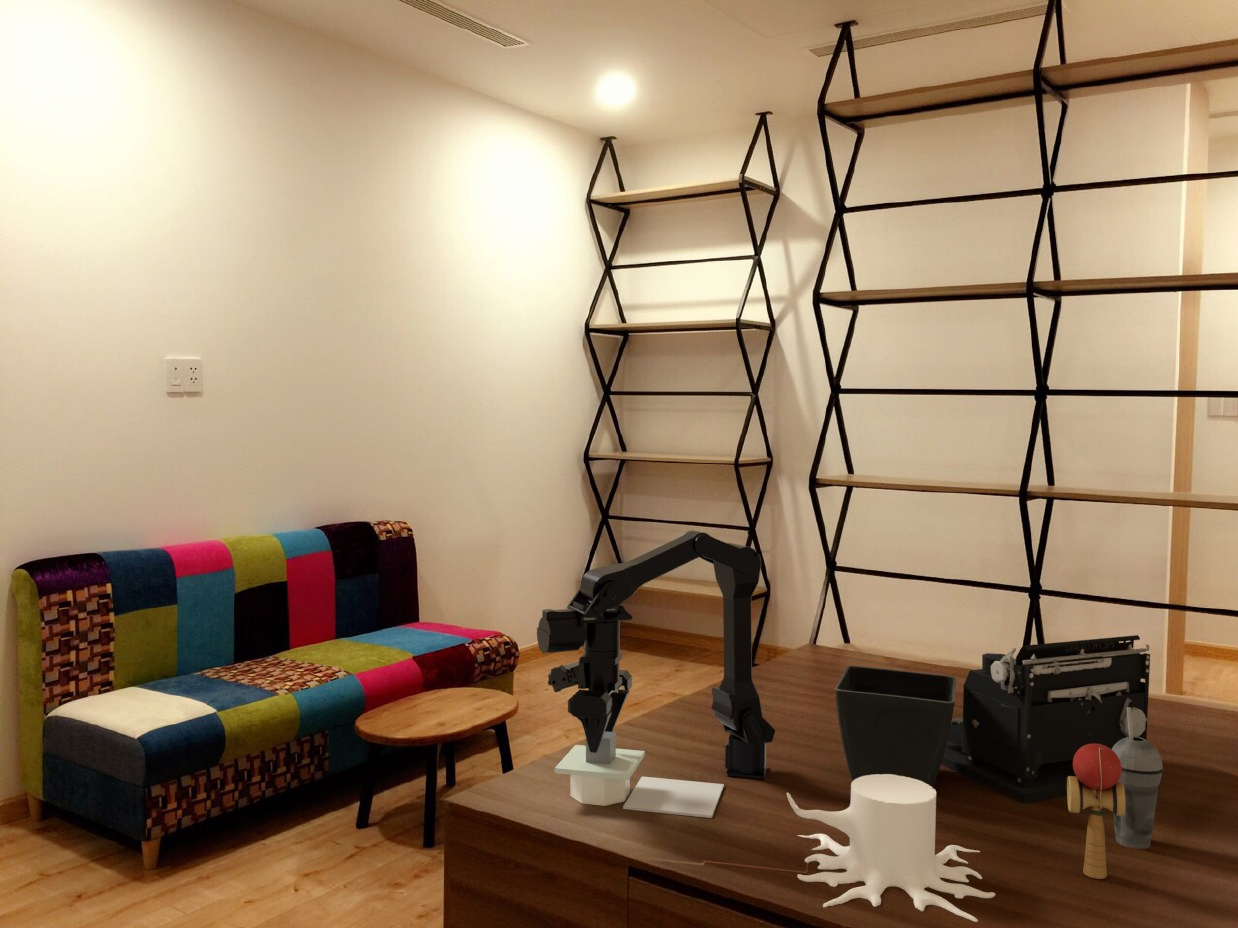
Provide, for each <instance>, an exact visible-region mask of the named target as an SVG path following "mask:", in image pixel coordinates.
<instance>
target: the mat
mask: <svg viewBox="0 0 1238 928" xmlns="http://www.w3.org/2000/svg"><path fill="white" fill-rule="evenodd" d="M724 787H725V785H724V783H715V782H714V783H713V782H706V781H705V782H704V781H694V780H693V781H692V780H682V779H673V778H670V779H669V778H663V777H662V778H661V777H652V776H651V777H650V776H641V777H640V779H639V780H638V782H637V783H636V786H635V787H634V788H633V790H632V791H631V792H630V794H629V795H628V797H627V798H626V800H625V803H624V804H623V806H622V810H630V811H640V812H648V813H649V812H650V813H657V814H658V813H661V814H668V815H679V816H687V817H690V816H691V817H695V818H696V817H698V818H708V819H712V818H713V816H714V813H715V811H716V808H717V805H718V803H719V801H720V798H721V796H722V792H723V789H724Z"/></svg>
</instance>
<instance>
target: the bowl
mask: <svg viewBox="0 0 1238 928" xmlns="http://www.w3.org/2000/svg"><path fill="white" fill-rule="evenodd" d="M569 786H570V789H569V790H570V791H569V793H570V794H569V796H570V797H571V798H573V799H574V800H576V801H577V802H578V803H581V804H584V805H594V806H602V807H605V806H610V805H613V804H619V803H624V802H626V801H627V799H628V798H629V796H630V795H631V778H630V779H629V780H622V779H611V778H601V777H590V776H580V775H570V785H569Z"/></svg>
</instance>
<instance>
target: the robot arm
mask: <svg viewBox="0 0 1238 928" xmlns="http://www.w3.org/2000/svg"><path fill="white" fill-rule="evenodd" d="M698 558H700V559H701V560H704V561H706V562H708V563H710V564H712V565H713V569H714V570H713V571H714V575H715V580H716V582H717V585H718V587H719V590H720V592H721V594H722V599H723V600H722V601H723V603H722V609H723V610H722V611H723V613H722V615H723V622H722V623H723V679H722V680H721V682H720V684H719V687H718V686H712V688H711V693H712V694H711V695H712V705H711V710H712V711H713V712H714V716H715V718H716V719H717V721H718V722H720V723H721V726H722V728H723V730H724V732H726V733H728V734H729V736H728V741H727V742H726V743H725V746H724V752H725V753H724V768H725V769H727V770H726V774H725V775H726V776H729V777H730V776H731V777H741V778H749V779H760V780H761V779H762V780H763V779H765V778H766V774H767V771H768V763H767V744H768V743H772V742H773V740H774V738H775V733H776V730H775V728H774V727H773V726H772V725H771V724H770V723H769V722H768V721H767V719H765V718H764V717H763V710H762V705H761V704H762V703H761V699H760V695H759V693H758V690H757V688H756V686H755V682H754V681H753V659H752V657H753V651H752V649H753V648H752V645H753V643H752V641H753V640H752V639H753V638H752V633H753V632H752V630H753V629H752V626H753V625H752V599H753V598H752V596H753V595H754V593H755V591H756V588H757V587H758V584H759V582H760V575H761V569H762V560H761V559H762V558H761V555H760V553H758V551H756V550H755V549H754V548H752V547H750V546H745V545H743V544H737V543H732V542H725V541H722V540H720V539H717V538H715V537H713V536H711V535H710V534H709V533H706V532H704V531H699V530H693V529H692V530H688V531H687V532H685V533H684V534H683V535H681V536H679V537H677V538H675V539H673V540H671V541H669V542H667V543H664V544H663V545H660V546H658V547H656V548H653V549H652V550H650V551H648V552H646V553H644V554H641V555H639V556H637V557H634V558H632V559H631V560H628V561H624V562H621V563H620V562H619V563H613V564H607V565H604V566H600V567H599V566H598V567H596V568H592V569H589V570H588V571H587V572H585V574H583V576H582V579H581V581H580V587H579V589H578V590H577V592H576V593H575V594H574V596H573V597H572V598H571V600H570V602H569V604H567V606H566V608H563V609H552V608H548V609H547V608H546V609H545V608H544V609H542V611H541V612H542V614H541V615H542V616H541V618H540V619H539V622H538V627H537V628H536V640H537V645H538V648H539V650H540V652H541V653H542V654H551V653H564V652H576V651H579V650H580V649H581V647H584V649H583V654H582V655H581V656H580V657H579V659H578V661H574V662H572V663H568V664H565V665H563V664H560V665H558V666H553V667H552V668H551V669H550V672H549V673H548V675H547V678H548V680H547V684H548V685H549V686H552V688H553V692H554V693H559V692H561V691H562V690H565V689H568V688H571V687H574V686H577V689H578V691H576V692H575V693H574V694H573V695H572V696H571V697H570V698H569V699H567V712H568V713H569V714H571V716H572V717H575V718H577V720H578V721H580V722H581V725H582V728H583V731H584V735H585V740H586V739H587V743H588V746H589V750H590V752H591V753H596V752H597V751H598V748H599V746H600V743H601V740H602V737H603V735H604V732H614V728H615V726H616V723H617V721H618V719H619V718H620V715H621V712H622V710H623V708H624V705H625V703H626V700H627V698H628V696H629V694H630V689H632V687H633V686H632V685H633V675H632V674H631V673H630V672H629V671H628V670H626V669H620V661H621V660H622V659H623V652H622V651H620V644H621V643H620V640H621V639H620V633H621V629H620V628H621V621H622V622H623V621H631V620H633V618H634V617H633V615H631V613H629V612H628V611H627V610H626V609H625V607H624V605H622V604H624V603H625V602H626V601H627V600H629V599H631V598H632V597H633V596H634V594H635V593H636V592H637V591H638V589H640V588H641V587H643V585H645V584H647V583H649V582H652V581H653V580H655V579H657V578H659V577H661V576H663V575H666V574H667V573H669V572H672V571H674V570H675V569H678V568H680V567H682V566H684V565H686V564H687V563H690V562H692V561H695V560H696V559H698ZM589 603H590V604H589ZM622 687H624V689H622Z"/></svg>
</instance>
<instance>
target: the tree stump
mask: <svg viewBox="0 0 1238 928" xmlns="http://www.w3.org/2000/svg"><path fill="white" fill-rule="evenodd" d="M786 796H787V800H788V802H789V804H790V806H791V808H792V810H793V812H794V814H796V815H797V816H798V817H801V818H803V819H808V820H809V819H810V820H811V819H812V820H817V821H819V822H822V823H824V824H825V825H828V826H831V827H834V828H836V830H839V831H841V832H843V833H844V834H846V836H848V839H849V845H847V846H845V845H844V846H843V845H841V844H840V843H838V842H837V841H835V840H833V839H832V838H831V837H830V836H829V835H827V834H825V833H814V834H810V835H802V834H801V835H800V834H799V835H798V834H797V835H796V836H798V837H802V838H806V839H808V838H809V839H810V840H811V839H812V840H814V839H815V840H816V839H817V840H820V845H818V846H817V847H813V848H812V849H811V851H819V850H821V851H823V850H826V849H829V850H831V851H832V852H833V853H834V854H835V855H837V856H832V855H828V854H823V853H815V854H812V855H808V856H807V857H806V858H804V862H805V863H806V864H809V863H811V862H818V863H819V865H818V866H817V869H818V870H838V869H842V870H846V871H844V872H835V871H821V872H817V873H814V874H807V875H805V874H804V875H803V874H799V873H798V874H797V876H796V877H797V878H798V879H799V880H800V881H802V882H807V883H813V882H814V883H816V882H821V883H822V882H823V883H826V884H828V886H830V887H833V888H836V887H838V885H842V884H843V885H845V884H851V883H854V884H855V883H857V882H864V884H865V885H863V886H858V887H853V888H851V889H849V890H847V891H846V892H844V893H842V894H841V895H840V896H838V897H836V898H832V899H830V900H829V901H827V902H824V903H823V904H822V907H823V908H827V907H830V906H831V907H833V906H836V905H842V904H844V903H847V902H849V901H850V900H853V899H859V898H860V899H865V900H868V901H869V902H871V905H872V906H873V907H875V908H876V907H878V906H880V905H881V903H882V898H881V895H882V894H883V892H885V890H886V889H887V888H889V887H897V888H900V889H902V890H903V891H905V893H907V894H908V895H909V897H911V899H913V904H914V908H915V909H917V910H919V911H920V912H924V911H925V909H926V906H931V905H932V906H937V907H940V908H943V909H945V910H947V911H948V912H951V913H953V914H954V915H956V916H959V917H962V918H965V919H967V920H970V921H972V922H975V923H977V922H979V919H977V917H975V916H973V915H971V914H969V913H967V912H965V911H963V910H961V909H959V908H958V907H956V906H955V905H954V904H952V903H951V902H949V901H948V900H947V899H945V898H943V897H941V896H940V895H938V894H935V893H933V892H929V891H927V890H925V888H930V889H932V890H935V891H939V892H941V893H947V894H951V895H954V897H955V898H956V899H964V897H965V896H970V897H971V896H973V897H976V898H977V897H978V898H980V899H981V898H982V899H992V898H994V897H996V893H995V892H992V891H991V892H985V891H982V890H980V889H977V888H975V887H971V886H970V885H966V884H962V883H969V882H970V880H969V879H968V878H967V875H972V876H975V877H976V878H977V879H980V880H982V879H983V877H982V875H981V874H980V873H979V872H977V871H976V870H973V869H972V868H970V867H966V866H963V865H962V866H960V865H959V866H947V865H944V864H946V863H947V862H948V860H953V861H956V862H959V863H963V864H969V862H968V861H967V860H964V859H962V858H960V857H959V856H958V855H957V854H958V853H957V851H961V852H965V853H980V852H981V851H980V850H977V849H976V850H974V849H969V848H965V847H962V846H960V845H956V844H950V845H947V846H946V847H945V848H944V849H943V850H941V851H940V852H938V853H937V854H935V853H936V819H937V818H936V817H937V815H936V812H937V791H936V789H935V788H934V787H933V788H932V786H929V784H926V783H924V782H923V781H920V780H917V779H912V778H910V777H905V776H898V775H892V774H882V775H880V774H875V775H867V776H862V777H859V778H857V779H855V780H853V781H851V783H850V803H849V806H848V807H847V808H845V809H843V810H838V811H829V810H822V809H811V810H810V809H807V810H806V809H801V808H800V807H799V806H798V805H797V803H796V802H795V800H794V799H793V798H792V795H791V794H790V793H789V792H786ZM942 879H946V880H947V879H948V880H951V881H954V882H955V881H956V882H960V883H953V882H951V883H950V882H946V881H944V880H942ZM961 882H962V883H961Z"/></svg>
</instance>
